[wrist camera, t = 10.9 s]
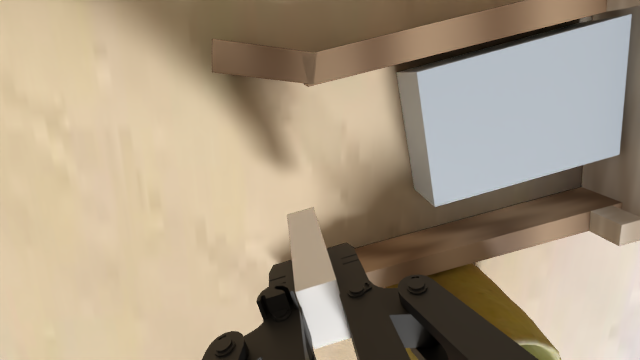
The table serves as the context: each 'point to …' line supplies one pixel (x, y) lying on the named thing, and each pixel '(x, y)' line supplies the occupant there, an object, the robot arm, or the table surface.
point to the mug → (493, 309)
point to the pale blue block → (516, 109)
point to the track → (503, 224)
